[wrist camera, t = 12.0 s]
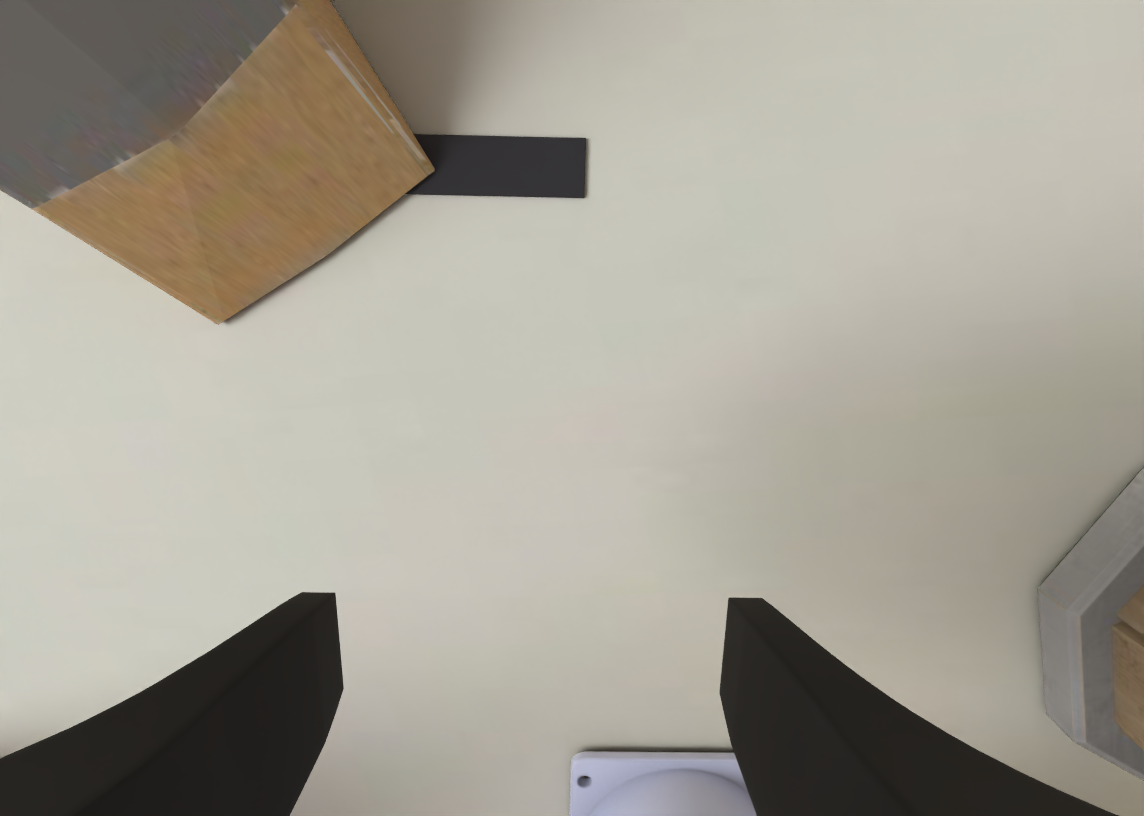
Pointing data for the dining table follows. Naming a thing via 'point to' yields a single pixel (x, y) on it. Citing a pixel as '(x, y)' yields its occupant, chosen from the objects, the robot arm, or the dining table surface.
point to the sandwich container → (199, 137)
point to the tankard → (1099, 635)
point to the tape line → (503, 166)
